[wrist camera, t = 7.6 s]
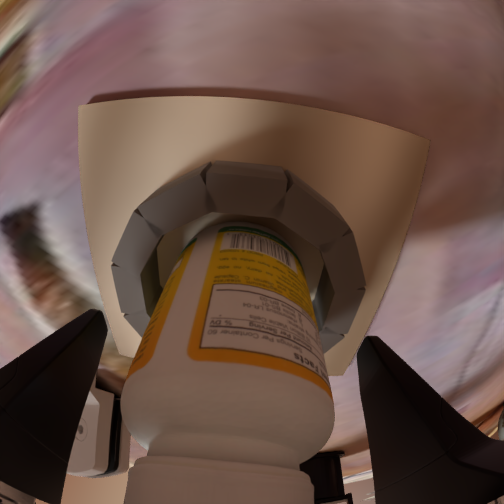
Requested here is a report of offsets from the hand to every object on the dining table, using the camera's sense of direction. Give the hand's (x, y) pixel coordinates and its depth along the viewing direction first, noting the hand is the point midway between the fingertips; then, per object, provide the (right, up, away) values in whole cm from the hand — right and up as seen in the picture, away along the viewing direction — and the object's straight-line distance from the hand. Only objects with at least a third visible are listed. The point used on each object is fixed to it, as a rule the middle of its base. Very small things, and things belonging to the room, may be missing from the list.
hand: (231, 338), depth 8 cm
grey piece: (-17, -12, +12) cm, 24 cm away
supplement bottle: (0, +2, +3) cm, 4 cm away
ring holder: (0, +2, +4) cm, 4 cm away
